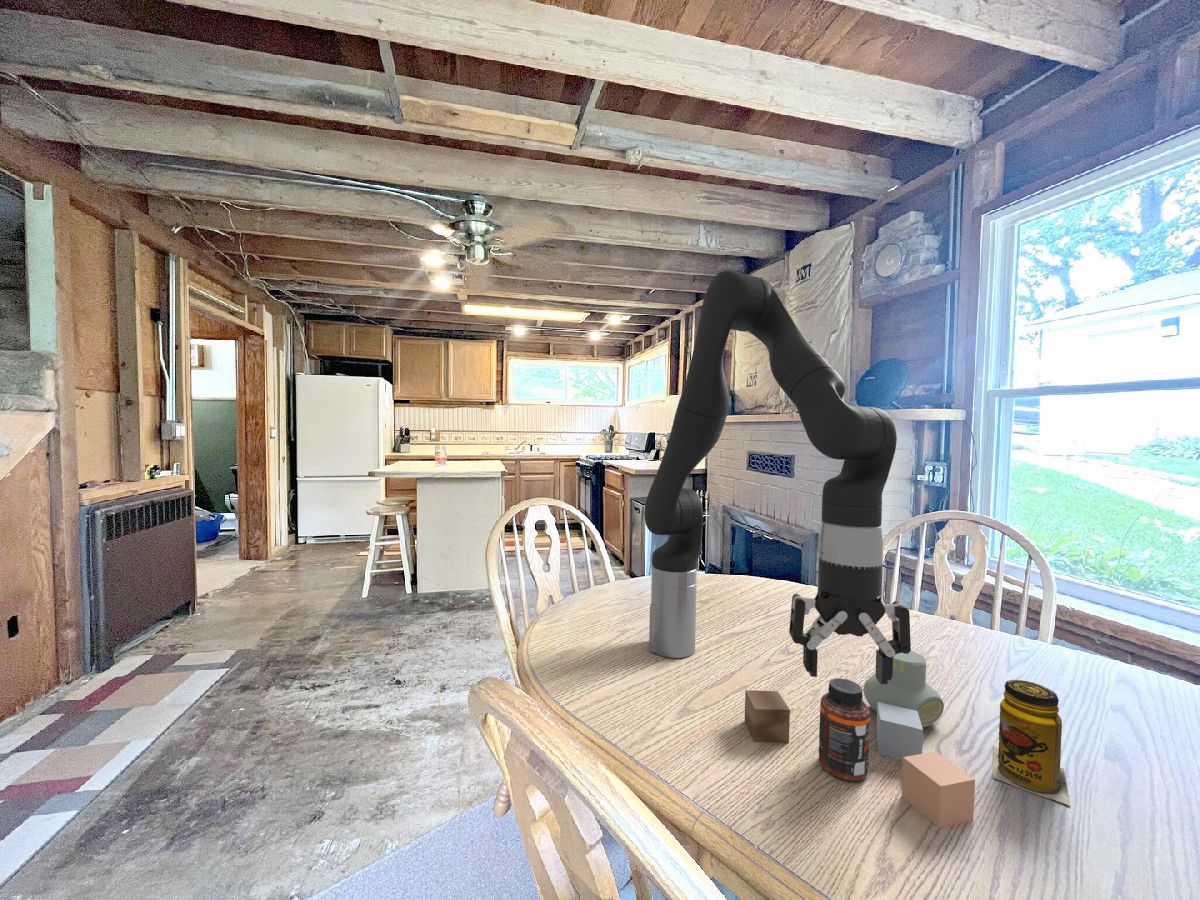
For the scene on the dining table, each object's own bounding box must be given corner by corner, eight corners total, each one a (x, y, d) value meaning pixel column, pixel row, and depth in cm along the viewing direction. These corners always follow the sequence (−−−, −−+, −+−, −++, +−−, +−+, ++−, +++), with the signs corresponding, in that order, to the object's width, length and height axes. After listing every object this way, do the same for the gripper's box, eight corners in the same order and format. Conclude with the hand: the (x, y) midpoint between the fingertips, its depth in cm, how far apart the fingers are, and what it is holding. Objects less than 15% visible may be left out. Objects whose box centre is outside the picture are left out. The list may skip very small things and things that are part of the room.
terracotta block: (939, 829, 54) (940, 786, 54) (901, 796, 59) (903, 757, 59) (973, 821, 56) (975, 779, 55) (933, 789, 60) (935, 751, 60)
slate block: (879, 754, 67) (880, 719, 67) (876, 734, 71) (877, 701, 71) (921, 765, 65) (923, 729, 65) (915, 744, 69) (917, 710, 69)
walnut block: (754, 742, 69) (755, 708, 69) (744, 721, 74) (745, 690, 74) (788, 743, 69) (789, 709, 69) (776, 722, 74) (777, 691, 74)
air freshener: (904, 739, 70) (907, 673, 70) (854, 710, 78) (856, 649, 77) (950, 723, 75) (953, 660, 74) (899, 696, 82) (901, 639, 82)
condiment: (992, 779, 62) (996, 689, 62) (993, 747, 69) (997, 665, 68) (1070, 808, 58) (1075, 710, 57) (1063, 771, 64) (1067, 683, 64)
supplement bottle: (875, 787, 60) (878, 700, 60) (824, 780, 62) (827, 694, 61) (859, 756, 66) (862, 676, 66) (813, 750, 67) (816, 671, 67)
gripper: (798, 560, 61) (795, 686, 61) (923, 568, 58) (918, 699, 58) (787, 547, 68) (784, 659, 69) (897, 553, 65) (893, 670, 66)
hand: (846, 677), depth 63 cm, fingers open, 8 cm apart
